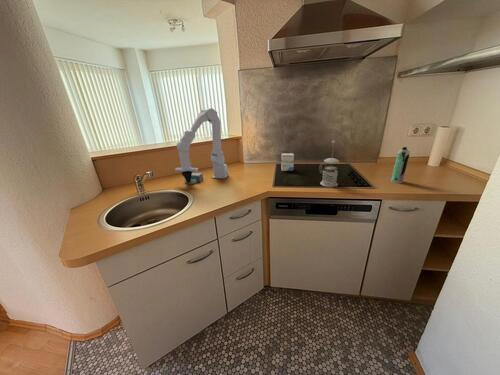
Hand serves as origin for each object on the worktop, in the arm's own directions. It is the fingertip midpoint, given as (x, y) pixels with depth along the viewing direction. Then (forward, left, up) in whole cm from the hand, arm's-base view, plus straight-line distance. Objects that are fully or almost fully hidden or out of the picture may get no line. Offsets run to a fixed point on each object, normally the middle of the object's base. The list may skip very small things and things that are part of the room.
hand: (188, 182), depth 127 cm
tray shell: (0, -4, -1) cm, 4 cm away
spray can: (-123, -20, -1) cm, 125 cm away
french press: (-84, -12, -1) cm, 85 cm away
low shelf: (0, -7, -1) cm, 7 cm away
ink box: (-59, -37, -1) cm, 70 cm away
